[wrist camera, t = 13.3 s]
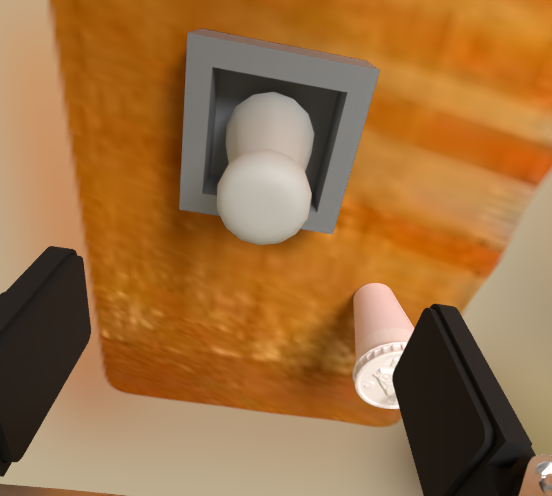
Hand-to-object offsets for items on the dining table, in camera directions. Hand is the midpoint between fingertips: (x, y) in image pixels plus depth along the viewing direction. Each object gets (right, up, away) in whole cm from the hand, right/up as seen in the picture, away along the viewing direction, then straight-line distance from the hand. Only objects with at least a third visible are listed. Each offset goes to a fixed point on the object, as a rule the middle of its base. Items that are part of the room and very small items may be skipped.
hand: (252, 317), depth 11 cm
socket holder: (0, +11, +18) cm, 21 cm away
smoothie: (+10, -3, +26) cm, 28 cm away
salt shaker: (0, +10, +17) cm, 20 cm away
